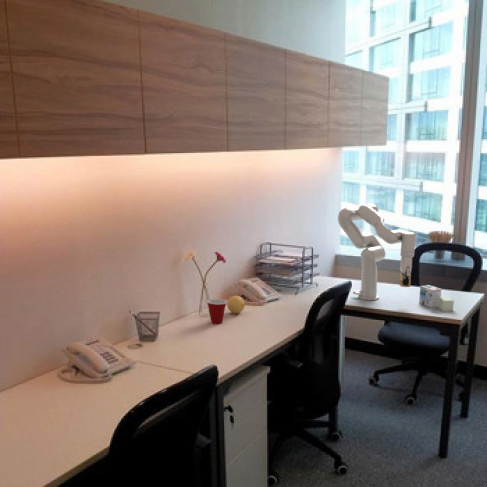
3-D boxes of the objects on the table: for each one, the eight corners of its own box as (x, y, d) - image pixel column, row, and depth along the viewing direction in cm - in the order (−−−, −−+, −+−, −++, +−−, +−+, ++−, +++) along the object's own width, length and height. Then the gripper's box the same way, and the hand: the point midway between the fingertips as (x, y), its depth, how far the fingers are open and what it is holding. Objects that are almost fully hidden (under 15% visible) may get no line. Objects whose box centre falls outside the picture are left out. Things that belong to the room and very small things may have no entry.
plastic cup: (231, 322, 275) (231, 300, 273) (217, 327, 267) (217, 304, 265) (216, 318, 282) (216, 296, 280) (202, 322, 274) (202, 300, 272)
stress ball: (230, 317, 286) (243, 307, 282) (220, 302, 288) (233, 292, 285) (238, 315, 295) (251, 306, 291) (229, 301, 297) (241, 291, 294)
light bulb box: (418, 303, 309) (419, 285, 307) (427, 301, 312) (428, 284, 310) (432, 307, 300) (433, 289, 298) (440, 306, 302) (441, 288, 301)
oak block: (401, 286, 300) (402, 274, 298) (399, 284, 305) (400, 272, 303) (409, 287, 299) (410, 275, 298) (408, 284, 304) (409, 273, 303)
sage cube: (442, 310, 294) (443, 300, 293) (438, 307, 300) (438, 297, 299) (453, 310, 294) (453, 300, 293) (448, 307, 300) (448, 297, 299)
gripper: (398, 250, 307) (395, 279, 311) (403, 256, 290) (400, 287, 294) (410, 250, 306) (408, 280, 310) (417, 256, 290) (414, 288, 293)
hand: (404, 283), depth 302 cm, fingers closed on oak block, 5 cm apart
